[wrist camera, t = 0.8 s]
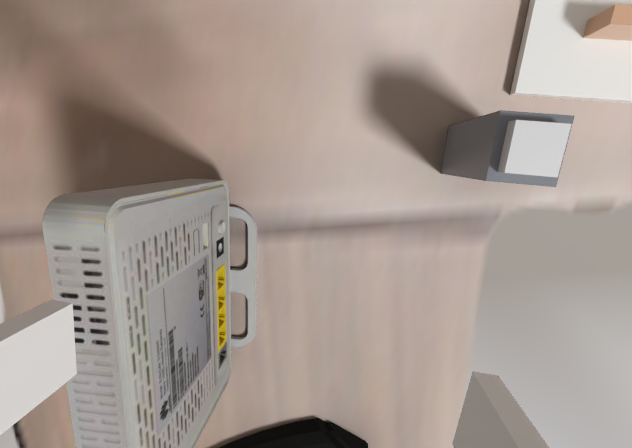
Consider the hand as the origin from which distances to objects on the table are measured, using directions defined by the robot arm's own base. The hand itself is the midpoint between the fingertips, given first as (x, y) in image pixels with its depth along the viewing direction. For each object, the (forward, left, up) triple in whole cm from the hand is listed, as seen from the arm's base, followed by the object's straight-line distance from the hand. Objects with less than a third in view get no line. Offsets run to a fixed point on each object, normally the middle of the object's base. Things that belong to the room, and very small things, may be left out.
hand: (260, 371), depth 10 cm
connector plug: (-9, +15, -26) cm, 32 cm away
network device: (+9, -12, -27) cm, 31 cm away
